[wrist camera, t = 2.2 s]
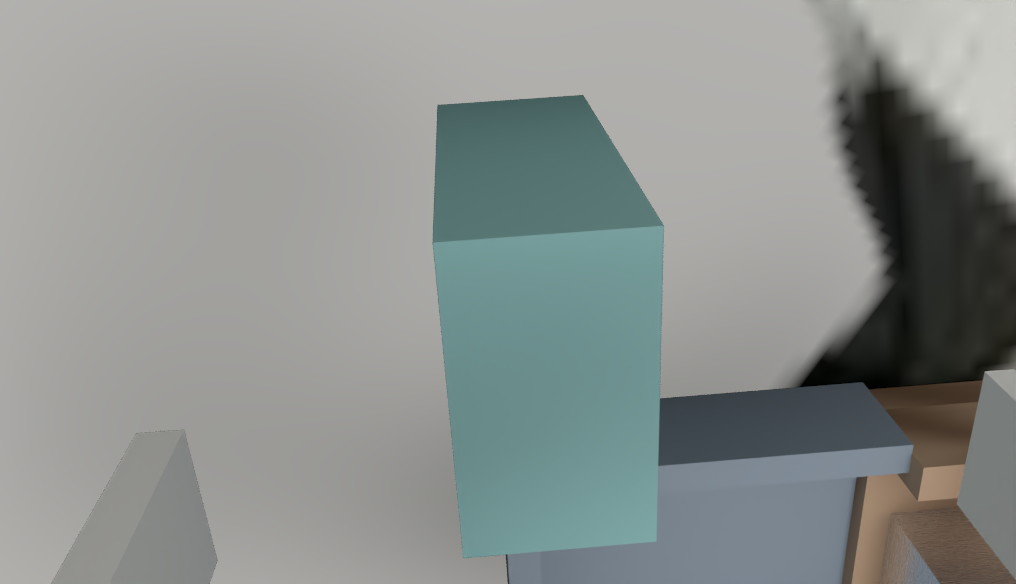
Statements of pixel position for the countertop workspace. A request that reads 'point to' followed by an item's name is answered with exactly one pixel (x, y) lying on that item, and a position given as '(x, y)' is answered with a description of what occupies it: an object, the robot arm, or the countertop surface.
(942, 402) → the channel
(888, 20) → the countertop surface
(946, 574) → the grey cube
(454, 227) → the upright teal block
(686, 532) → the tray
